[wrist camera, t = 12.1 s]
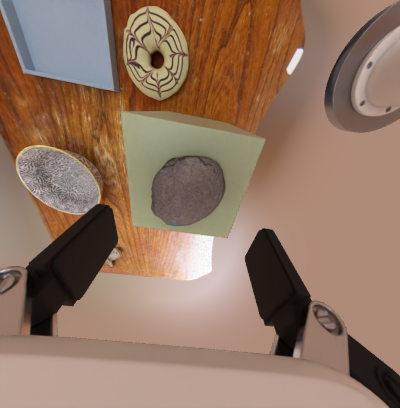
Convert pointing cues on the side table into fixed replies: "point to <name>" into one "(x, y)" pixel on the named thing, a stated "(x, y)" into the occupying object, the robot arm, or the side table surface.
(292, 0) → the side table surface
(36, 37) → the tray
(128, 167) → the stand
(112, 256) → the butterfly
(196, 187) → the stone
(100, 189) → the bowl
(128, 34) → the decorated donut
